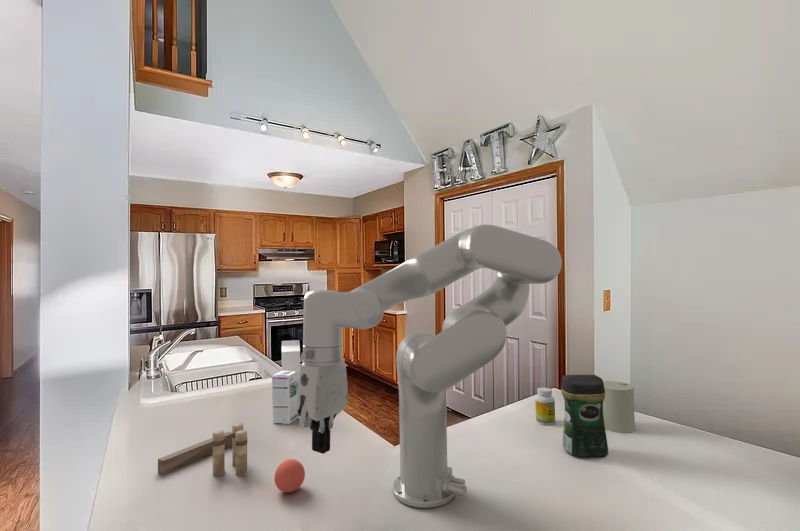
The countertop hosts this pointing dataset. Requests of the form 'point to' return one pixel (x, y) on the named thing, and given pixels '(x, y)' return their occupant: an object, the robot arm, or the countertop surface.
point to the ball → (289, 475)
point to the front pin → (241, 452)
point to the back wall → (189, 454)
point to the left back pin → (218, 453)
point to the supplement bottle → (545, 407)
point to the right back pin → (234, 429)
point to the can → (619, 407)
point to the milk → (291, 356)
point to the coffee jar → (584, 416)
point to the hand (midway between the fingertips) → (320, 450)
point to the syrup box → (284, 397)
